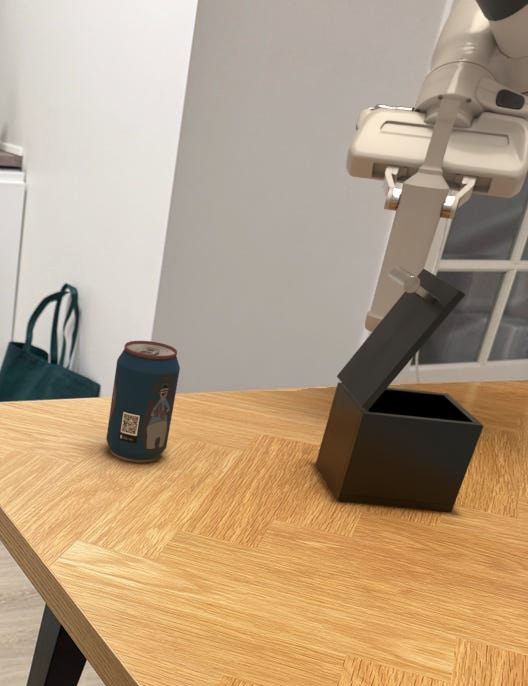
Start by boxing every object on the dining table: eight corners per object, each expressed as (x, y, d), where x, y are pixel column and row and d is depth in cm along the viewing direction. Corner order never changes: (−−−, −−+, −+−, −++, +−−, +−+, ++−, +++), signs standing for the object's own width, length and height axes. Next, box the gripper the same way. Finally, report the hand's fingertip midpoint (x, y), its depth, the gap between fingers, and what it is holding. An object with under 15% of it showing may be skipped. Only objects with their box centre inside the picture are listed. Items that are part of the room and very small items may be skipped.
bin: (419, 474, 106) (447, 393, 100) (451, 512, 97) (484, 425, 91) (315, 464, 105) (337, 382, 100) (337, 501, 96) (363, 413, 91)
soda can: (118, 437, 106) (132, 335, 100) (172, 451, 104) (191, 347, 98) (95, 454, 101) (109, 347, 94) (152, 469, 99) (170, 361, 92)
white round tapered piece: (382, 336, 109) (451, 100, 96) (354, 325, 113) (417, 96, 99) (414, 336, 111) (486, 103, 98) (385, 324, 115) (451, 100, 101)
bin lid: (429, 272, 93) (396, 247, 92) (466, 294, 84) (430, 267, 83) (341, 380, 100) (310, 357, 98) (367, 411, 91) (333, 387, 90)
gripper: (366, 82, 106) (332, 178, 104) (550, 101, 100) (518, 204, 98) (360, 124, 112) (328, 216, 110) (534, 145, 106) (503, 242, 104)
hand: (419, 210), depth 104 cm, fingers closed on white round tapered piece, 5 cm apart
